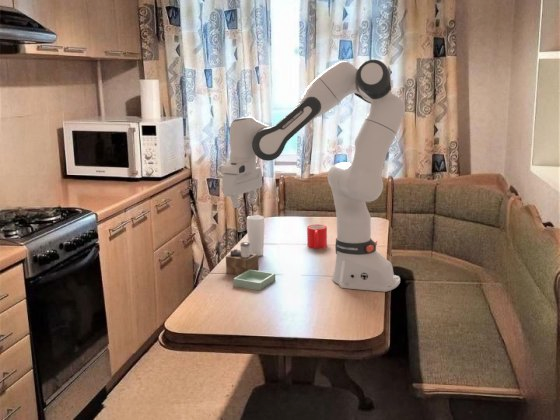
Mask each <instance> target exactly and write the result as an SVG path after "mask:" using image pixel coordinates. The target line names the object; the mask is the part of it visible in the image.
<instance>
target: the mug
mask: <svg viewBox="0 0 560 420" xmlns="http://www.w3.org/2000/svg"><path fill="white" fill-rule="evenodd" d="M306 228H307V230H306V235H307V247H308V248H311V249H324V248H327V245H328V233H327V232H328V231H327V230H328V227H327V225H324V224H310V225H308V226H307V227H306Z"/></svg>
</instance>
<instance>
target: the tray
mask: <svg viewBox="0 0 560 420" xmlns="http://www.w3.org/2000/svg"><path fill="white" fill-rule="evenodd" d="M232 280H233V282H232V283H233V286H234V287H238V288H239V287H240V288H244V289H249V290H256V291H262V290H263V289H265V288H266V287H268V286H269V285H271V284H273V283H274V282H275V281H276V273H274V272H268V271H261V270H258V271H256V270H250V269H249V270H248V271H246V272H244V273H242V274H241V275H237V276H235V277H234V278H233V279H232Z"/></svg>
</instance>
